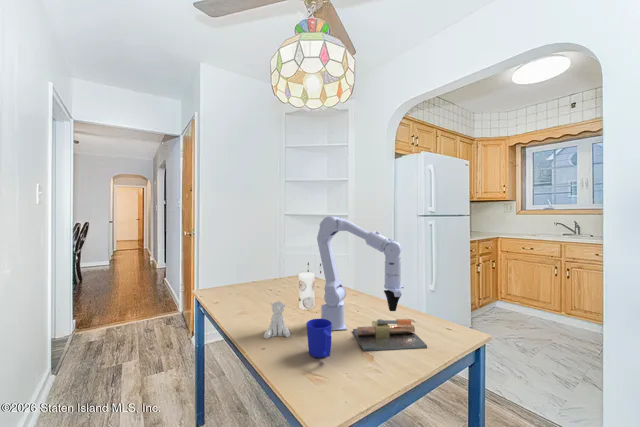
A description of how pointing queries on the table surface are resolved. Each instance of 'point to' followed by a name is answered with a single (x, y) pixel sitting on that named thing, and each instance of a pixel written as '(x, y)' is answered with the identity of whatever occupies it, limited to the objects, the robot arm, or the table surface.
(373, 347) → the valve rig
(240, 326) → the table surface
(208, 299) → the table surface
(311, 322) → the mug
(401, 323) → the valve lever
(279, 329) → the sitting furry creature
